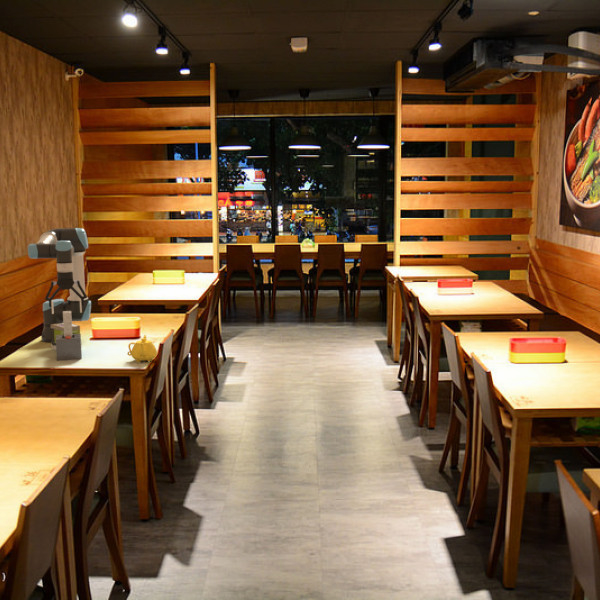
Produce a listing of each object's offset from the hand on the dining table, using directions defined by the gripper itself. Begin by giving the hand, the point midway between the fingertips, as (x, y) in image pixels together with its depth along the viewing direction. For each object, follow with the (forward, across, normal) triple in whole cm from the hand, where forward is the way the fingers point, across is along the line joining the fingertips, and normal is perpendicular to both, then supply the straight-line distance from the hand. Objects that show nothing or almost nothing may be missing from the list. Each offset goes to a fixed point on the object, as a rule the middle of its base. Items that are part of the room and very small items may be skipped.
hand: (67, 312), depth 356 cm
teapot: (+25, +36, -13) cm, 45 cm away
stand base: (+24, 0, 0) cm, 24 cm away
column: (+23, 0, 0) cm, 23 cm away
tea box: (+24, -2, +20) cm, 32 cm away
